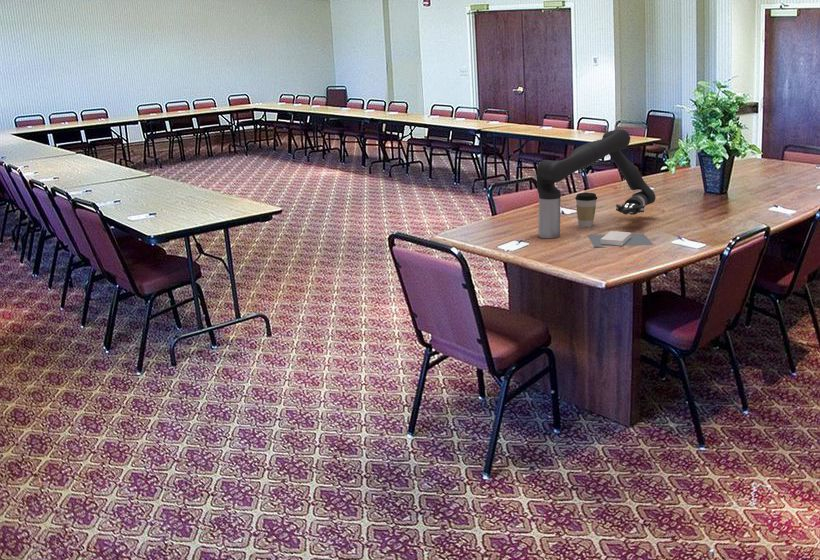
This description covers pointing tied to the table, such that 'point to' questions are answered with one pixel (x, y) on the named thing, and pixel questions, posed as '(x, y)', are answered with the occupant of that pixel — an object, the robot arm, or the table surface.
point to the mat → (634, 240)
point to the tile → (615, 238)
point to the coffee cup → (585, 209)
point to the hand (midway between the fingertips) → (625, 212)
